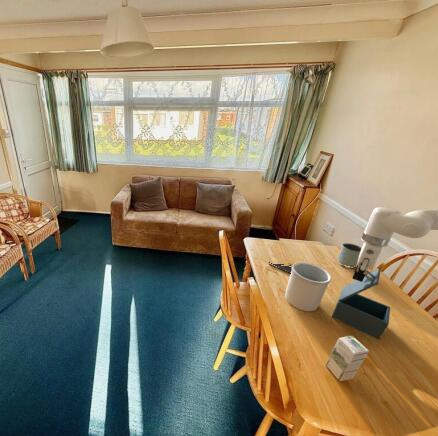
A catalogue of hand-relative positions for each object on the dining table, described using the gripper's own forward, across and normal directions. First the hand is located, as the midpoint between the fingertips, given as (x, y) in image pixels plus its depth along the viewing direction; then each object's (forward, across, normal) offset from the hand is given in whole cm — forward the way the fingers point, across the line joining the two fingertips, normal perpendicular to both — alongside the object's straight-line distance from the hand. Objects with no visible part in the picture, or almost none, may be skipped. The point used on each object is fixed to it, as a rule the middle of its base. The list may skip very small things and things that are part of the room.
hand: (358, 276), depth 95 cm
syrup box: (+21, -34, -4) cm, 40 cm away
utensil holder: (+20, -5, +15) cm, 26 cm away
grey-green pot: (+20, +49, +5) cm, 53 cm away
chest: (+21, 0, -5) cm, 21 cm away
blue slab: (+4, 0, -2) cm, 5 cm away
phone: (+20, +18, +30) cm, 41 cm away
